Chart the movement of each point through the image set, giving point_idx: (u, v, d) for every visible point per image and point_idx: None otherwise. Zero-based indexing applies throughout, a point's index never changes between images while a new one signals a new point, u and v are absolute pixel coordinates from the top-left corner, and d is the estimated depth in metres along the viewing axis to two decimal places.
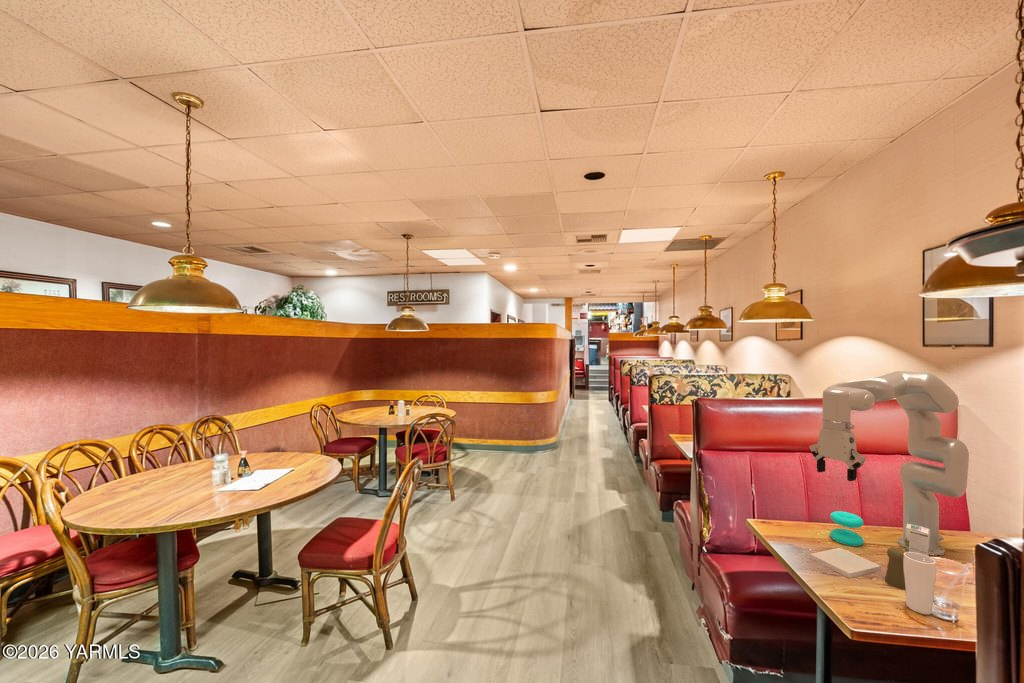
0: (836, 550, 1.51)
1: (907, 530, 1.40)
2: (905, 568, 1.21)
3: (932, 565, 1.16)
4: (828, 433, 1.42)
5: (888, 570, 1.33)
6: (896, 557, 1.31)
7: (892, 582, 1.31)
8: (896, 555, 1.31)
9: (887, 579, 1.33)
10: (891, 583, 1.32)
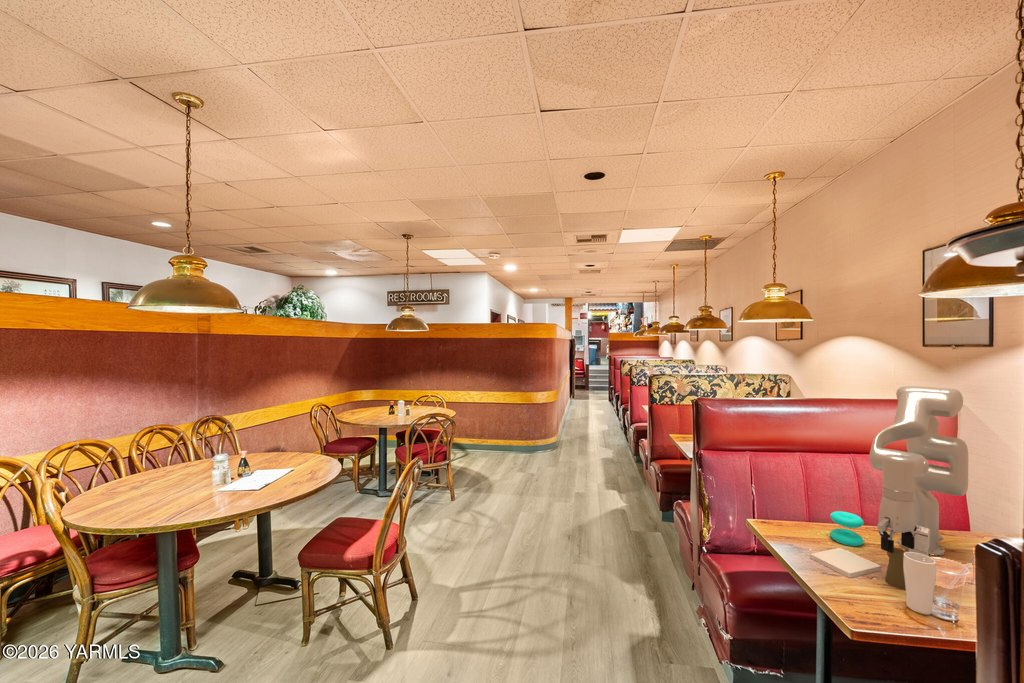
0: (836, 550, 1.51)
1: None
2: (905, 568, 1.21)
3: (932, 565, 1.16)
4: (906, 505, 1.30)
5: (888, 570, 1.33)
6: (896, 557, 1.31)
7: (892, 582, 1.31)
8: (896, 555, 1.31)
9: (887, 579, 1.33)
10: (891, 583, 1.32)
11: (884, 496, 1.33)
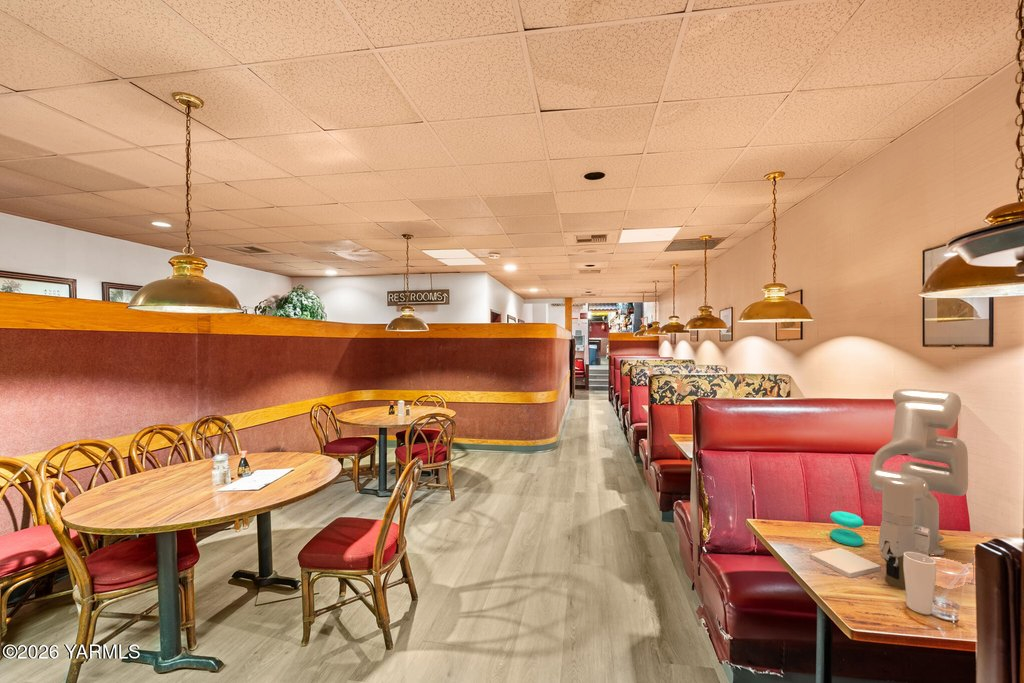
0: (836, 550, 1.51)
1: None
2: (905, 568, 1.21)
3: (932, 565, 1.16)
4: (906, 529, 1.30)
5: None
6: None
7: (892, 582, 1.31)
8: None
9: (887, 579, 1.33)
10: (891, 583, 1.32)
11: (884, 519, 1.33)
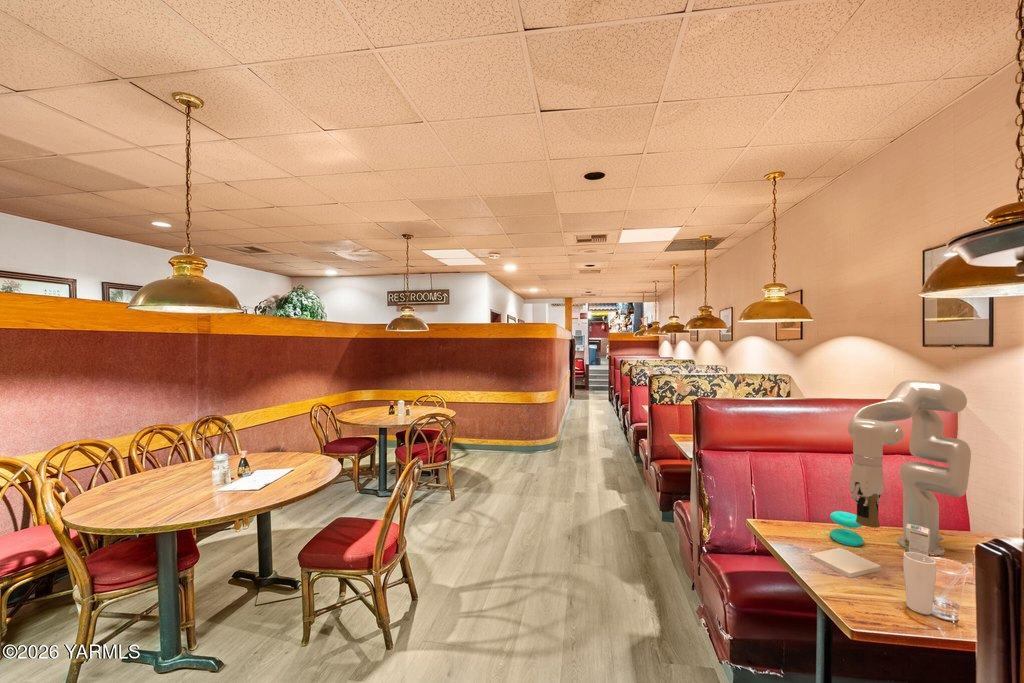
0: (836, 550, 1.51)
1: (907, 530, 1.40)
2: (905, 568, 1.21)
3: (932, 565, 1.16)
4: (875, 470, 1.36)
5: None
6: None
7: (862, 521, 1.38)
8: None
9: (858, 519, 1.39)
10: (861, 522, 1.38)
11: (855, 462, 1.39)
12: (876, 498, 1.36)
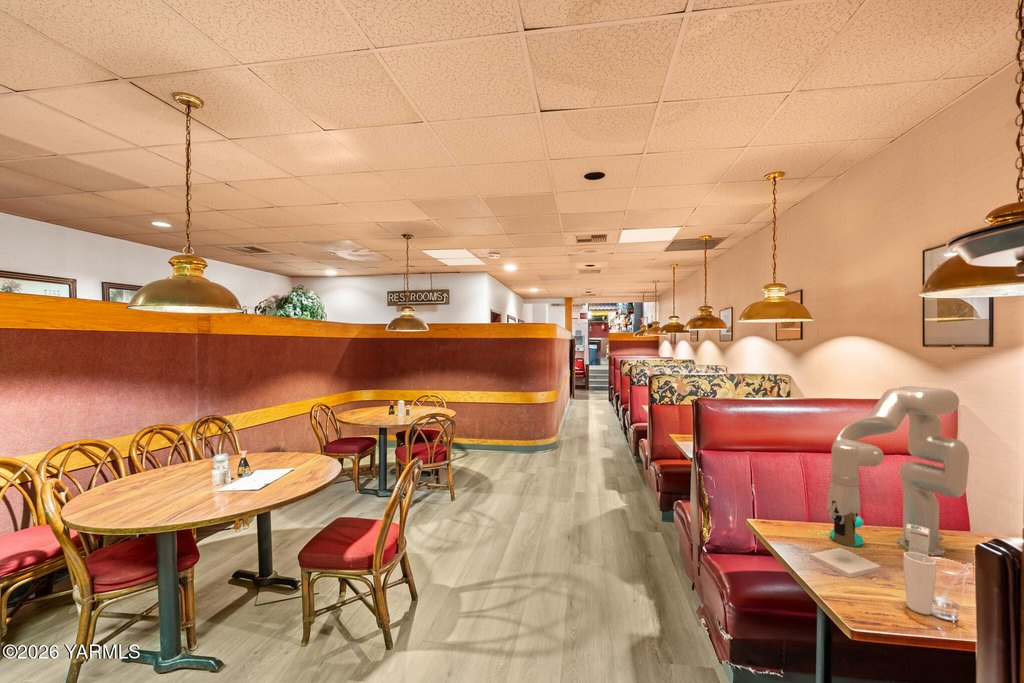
0: (836, 550, 1.51)
1: (907, 530, 1.40)
2: (905, 568, 1.21)
3: (932, 565, 1.16)
4: (851, 490, 1.41)
5: None
6: None
7: (838, 538, 1.43)
8: None
9: (835, 536, 1.45)
10: (838, 540, 1.43)
11: (832, 482, 1.45)
12: (852, 517, 1.42)
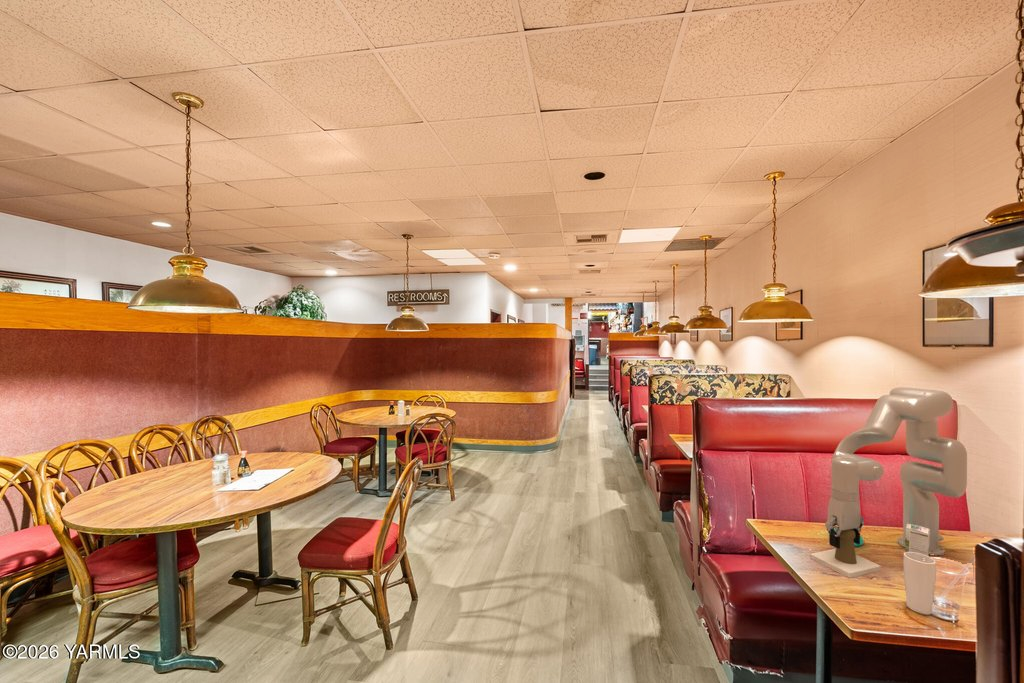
0: None
1: (907, 530, 1.40)
2: (905, 568, 1.21)
3: (932, 565, 1.16)
4: (851, 505, 1.41)
5: None
6: (843, 535, 1.43)
7: (840, 557, 1.43)
8: (843, 532, 1.43)
9: (836, 555, 1.45)
10: (839, 559, 1.43)
11: (832, 496, 1.45)
12: (853, 536, 1.42)
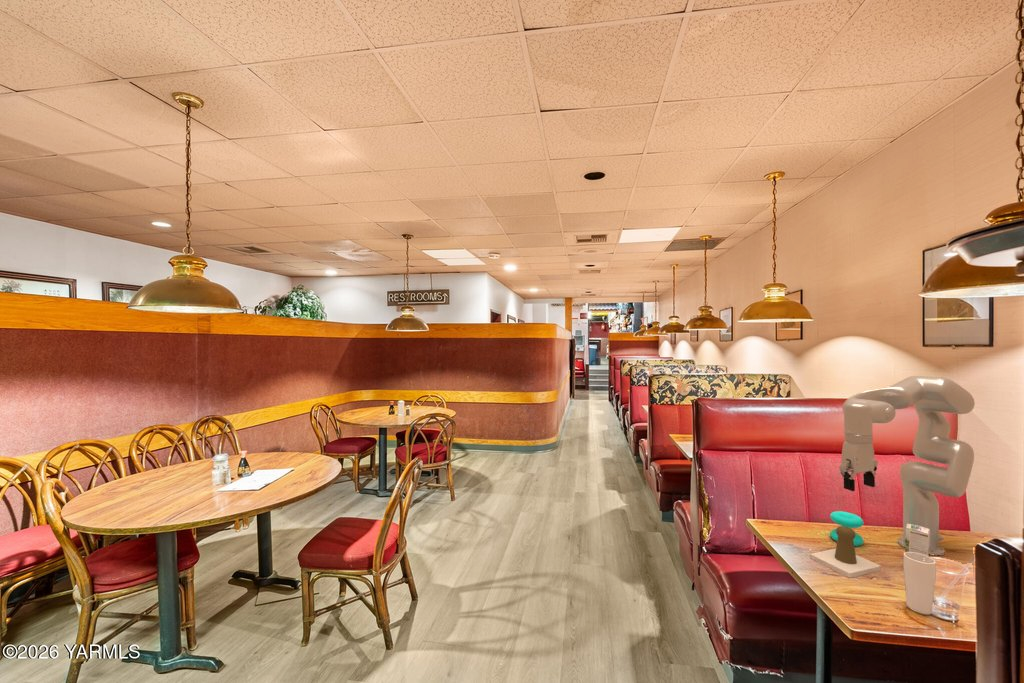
0: None
1: (907, 530, 1.40)
2: (905, 568, 1.21)
3: (932, 565, 1.16)
4: (865, 447, 1.42)
5: (837, 547, 1.45)
6: (843, 535, 1.43)
7: (840, 557, 1.43)
8: (843, 532, 1.43)
9: (836, 555, 1.45)
10: (839, 559, 1.43)
11: (846, 440, 1.45)
12: (853, 536, 1.42)
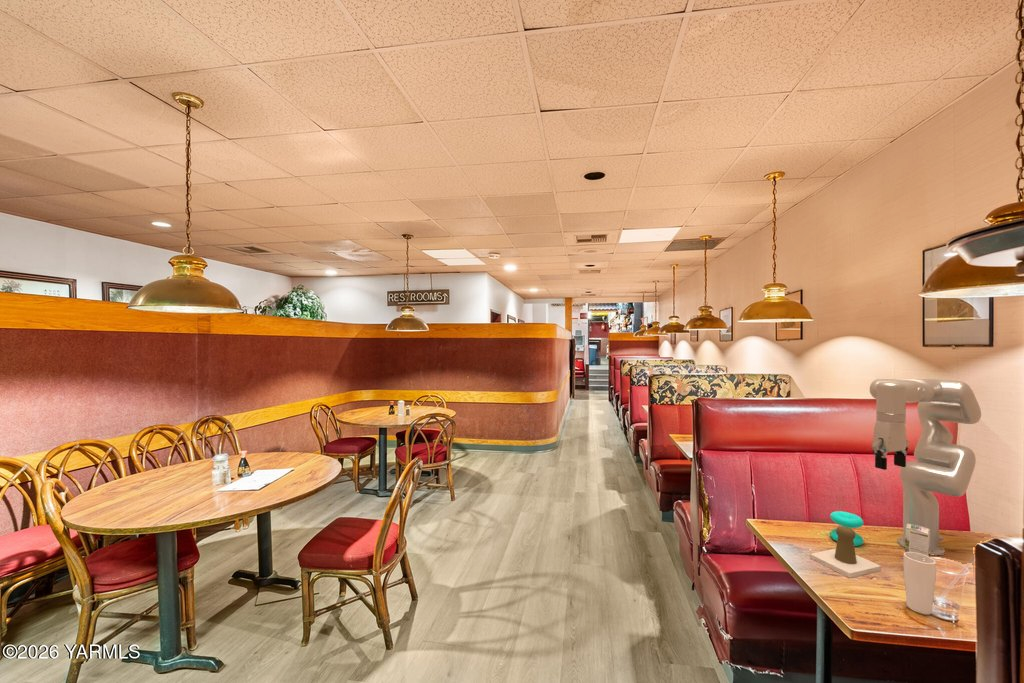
0: None
1: (907, 530, 1.40)
2: (905, 568, 1.21)
3: (932, 565, 1.16)
4: (897, 426, 1.42)
5: (837, 547, 1.45)
6: (843, 535, 1.43)
7: (840, 557, 1.43)
8: (843, 532, 1.43)
9: (836, 555, 1.45)
10: (839, 559, 1.43)
11: (878, 420, 1.45)
12: (853, 536, 1.42)
